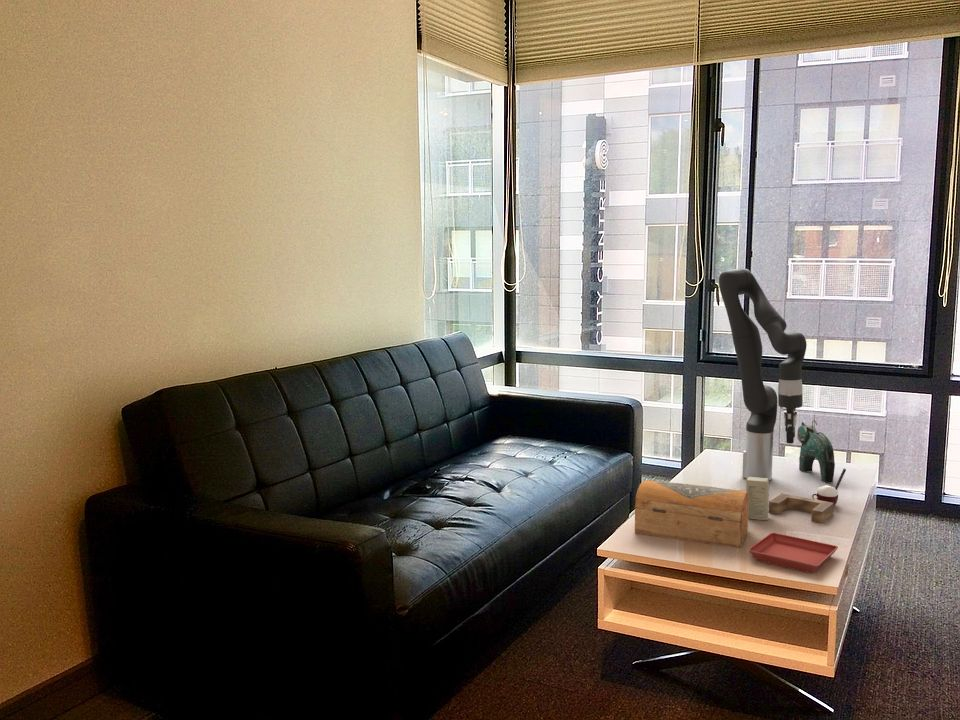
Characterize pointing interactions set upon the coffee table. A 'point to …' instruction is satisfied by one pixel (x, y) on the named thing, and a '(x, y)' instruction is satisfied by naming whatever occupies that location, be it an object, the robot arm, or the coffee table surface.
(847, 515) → the coffee table surface
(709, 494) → the wooden box
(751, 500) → the skincare box
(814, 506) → the wooden u-shaped block
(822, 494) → the cocoa
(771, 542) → the plant saucer
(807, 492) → the coffee table surface
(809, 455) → the ceramic cat
